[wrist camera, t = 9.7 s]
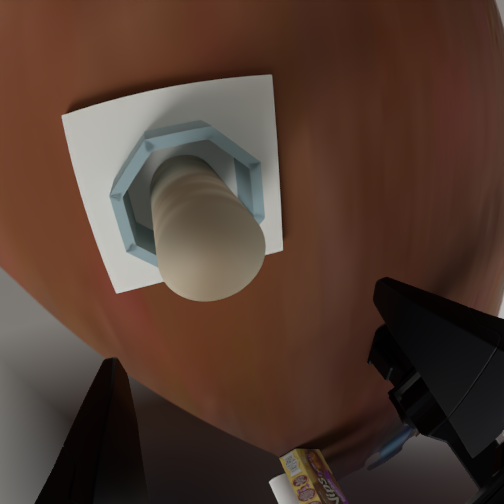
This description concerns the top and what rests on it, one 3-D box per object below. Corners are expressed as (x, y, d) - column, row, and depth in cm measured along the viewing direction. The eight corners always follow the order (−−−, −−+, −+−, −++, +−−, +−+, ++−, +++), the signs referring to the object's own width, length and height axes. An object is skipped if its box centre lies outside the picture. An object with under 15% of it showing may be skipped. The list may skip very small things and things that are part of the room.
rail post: (212, 148, 17) (261, 193, 11) (221, 210, 19) (268, 285, 13) (143, 163, 16) (144, 220, 10) (157, 226, 18) (172, 312, 12)
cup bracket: (266, 74, 16) (295, 73, 13) (278, 245, 23) (301, 272, 20) (64, 114, 14) (45, 121, 11) (116, 286, 20) (115, 323, 17)
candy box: (276, 458, 46) (310, 527, 34) (294, 447, 45) (331, 517, 33) (303, 459, 51) (334, 518, 39) (319, 448, 50) (353, 509, 38)
